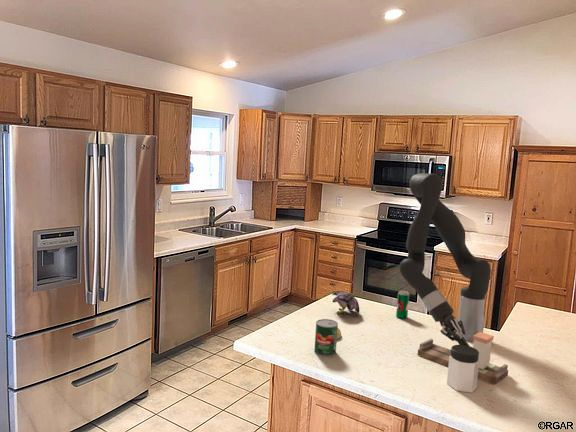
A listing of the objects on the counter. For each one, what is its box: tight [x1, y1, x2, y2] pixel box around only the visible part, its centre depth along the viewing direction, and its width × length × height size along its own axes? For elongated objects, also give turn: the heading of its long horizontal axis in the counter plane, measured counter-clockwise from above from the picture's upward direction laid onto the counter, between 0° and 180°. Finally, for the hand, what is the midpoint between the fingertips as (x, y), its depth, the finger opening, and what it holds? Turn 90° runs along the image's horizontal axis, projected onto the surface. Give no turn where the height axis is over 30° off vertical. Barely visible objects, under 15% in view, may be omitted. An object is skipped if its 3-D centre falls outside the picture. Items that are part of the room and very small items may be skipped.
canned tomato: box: [313, 318, 339, 358], centre depth 161 cm, size 8×8×11 cm
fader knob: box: [472, 332, 494, 369], centre depth 151 cm, size 5×6×10 cm
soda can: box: [395, 290, 410, 320], centre depth 203 cm, size 5×5×12 cm
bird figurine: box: [331, 290, 360, 317], centre depth 204 cm, size 15×12×15 cm
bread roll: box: [337, 327, 342, 340], centre depth 177 cm, size 8×9×4 cm
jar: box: [446, 344, 479, 394], centre depth 141 cm, size 9×8×12 cm
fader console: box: [417, 338, 509, 386], centre depth 156 cm, size 28×10×4 cm, turn 44°
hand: (467, 349), depth 155 cm, fingers closed
